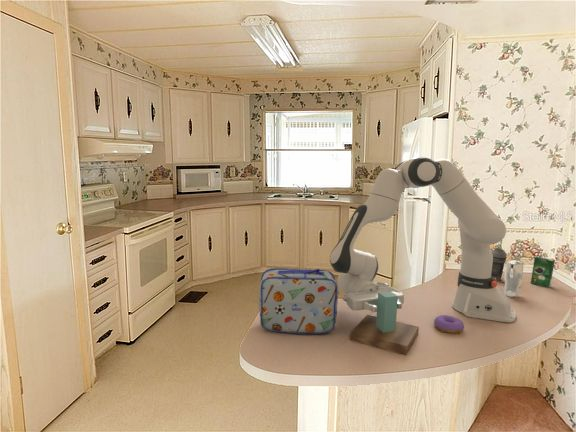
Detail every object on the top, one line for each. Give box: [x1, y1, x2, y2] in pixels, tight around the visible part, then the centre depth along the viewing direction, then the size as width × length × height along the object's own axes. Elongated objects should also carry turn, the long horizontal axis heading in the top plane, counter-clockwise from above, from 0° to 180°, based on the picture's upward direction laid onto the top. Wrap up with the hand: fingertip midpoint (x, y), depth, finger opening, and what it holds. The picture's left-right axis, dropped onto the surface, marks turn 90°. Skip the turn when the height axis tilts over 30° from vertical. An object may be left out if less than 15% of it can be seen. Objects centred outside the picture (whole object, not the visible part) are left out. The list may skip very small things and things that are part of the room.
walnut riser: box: [350, 314, 420, 356], centre depth 133 cm, size 18×16×3 cm
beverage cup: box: [491, 239, 507, 282], centre depth 196 cm, size 7×7×20 cm
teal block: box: [376, 291, 398, 333], centre depth 132 cm, size 4×4×12 cm
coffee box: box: [530, 256, 556, 288], centre depth 190 cm, size 8×3×13 cm, turn 43°
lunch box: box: [258, 267, 340, 335], centre depth 136 cm, size 28×10×22 cm, turn 91°
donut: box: [433, 314, 465, 335], centre depth 141 cm, size 10×9×5 cm
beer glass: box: [502, 259, 524, 299], centre depth 175 cm, size 7×7×15 cm
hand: (388, 308), depth 131 cm, fingers open, 8 cm apart
